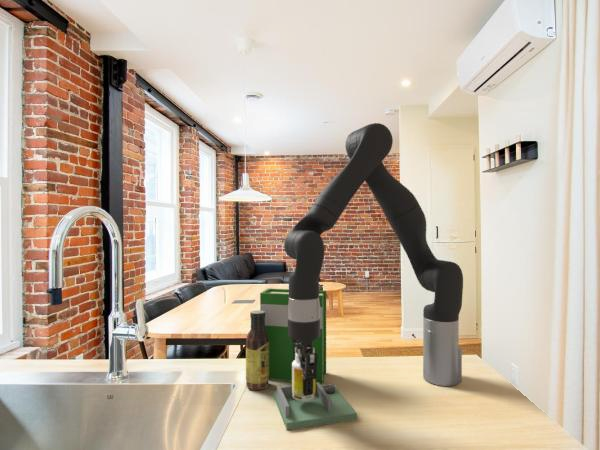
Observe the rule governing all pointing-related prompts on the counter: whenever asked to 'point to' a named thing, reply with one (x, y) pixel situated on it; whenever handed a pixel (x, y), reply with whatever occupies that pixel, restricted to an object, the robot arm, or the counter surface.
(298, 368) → the supplement bottle
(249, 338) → the sauce bottle
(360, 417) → the counter surface
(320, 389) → the green plate with knob
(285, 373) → the hardback book
